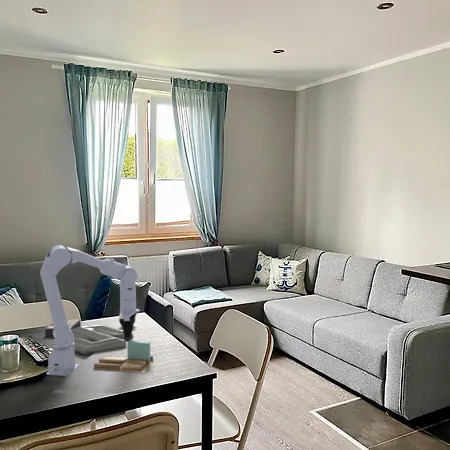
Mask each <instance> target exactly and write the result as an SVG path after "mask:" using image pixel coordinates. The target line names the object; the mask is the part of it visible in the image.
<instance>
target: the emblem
mask: <svg viewBox="0 0 450 450" xmlns="http://www.w3.org/2000/svg"><path fill="white" fill-rule="evenodd" d="M71 331H72V333H73V334H74V337H75V339H74V346H75V353H77V354H81V355H82V356H83V355H84V356H92V355H94V354H95V353H100V352H105V351H112V350H116V349H118V350H119V349H123V348H126V347H127V342H128V341H129V340H133V339H134V334H133V333H132V334H131V338H125V336H124V332H123V329H118V328H115V327H111V326H107V325H102V324H99V325H84V326H80V327H77V328H75V329H71Z"/></svg>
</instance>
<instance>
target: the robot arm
mask: <svg viewBox="0 0 450 450" xmlns="http://www.w3.org/2000/svg"><path fill="white" fill-rule="evenodd" d="M69 263H70V264H76V263H82V264H86V265H89V266H91V267H94V268H97V269H99V271H100V273H101V274H102V275H106V276H108V277H110V278H112V279H116V280H119V284H120V285H119V296H120V297H119V301H120V302H119V303H120V304H119V305H120V306H119V307H120V309H119V314H122V316H123V318H124V319H120V320H119V319H118V322H119V324H120V326H121V328H122V330H123V332H124V336H125V338H131V334H133V328H134V324H135V323H136V320H135V316H136V317H137V313H139V312H140V309H139V308H137V290H136V289H137V287H136V282H137V280H138V277H139V276H138V273H137V271H136V270H135V269H134V268H133V267H131V266H129V265H127V264H126V263H120V262H118V261H115V258H112V257H110V258H105V259H100V258H98V257H95V256H93V255H91V254H88V253H86V252H84V251H82V250H79V249H76V248H73V247H68V246H67V247H65V246H64V245H61V244H56V245H53V246H51V248H50V249H49V250H48V252H47V253H46V254H45V259H44V260H43V263H42V266H41V269H40V271H39V273H40V279H41V282H42V286H43V289H44V292H45V297H46V301H47V304H48V305H47V306H48V308H49V312H50V317H51V320H52V323H53V325H54V329H53V336H54V337H53V338H54V342H53V343H52V349H51V352H50V353H49V355H48V357H47V361H48V362H47V364H48V365H47V366H48V371H47V372H46V375H47V376H61V377H67V376H69V375H70V374H71V373H72V372H73V371H75V369H77V368H78V367H79V366H80V364H79V363H76V352H75V346H74V339H75V337H74V334H73V333H72V331H71V328H70V326H69V325H68V322H67V320H68V319H67V316H66V312H65V308H64V305H63V304H64V303H63V299H62V297H61V292H60V289H59V284H58V281H57V275H58V274H59V272H60V271H61V269H63V268H64V267H66V266H67V265H68V264H69ZM134 322H135V323H134Z"/></svg>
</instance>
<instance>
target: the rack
mask: <svg viewBox="0 0 450 450" xmlns="http://www.w3.org/2000/svg"><path fill="white" fill-rule="evenodd" d="M126 360H135V361H146V366H145V367H144V368H143V369H142V370H141V371H132V370H122V365H123V364H124V362H125V361H126ZM154 361H155V359H154V355H150V360H139V359H128V357H122V356H121V357H120V356H119V357H118V356H110V355H109V356H107V355H106V356H105V357H104V358H103V357H102V358H99V359H98V362H94V363H93V367H92V370H101V371H102V370H103V371H115V372H116V371H117V372H129V373H141V374H142V373H143V374H144V373H146V371H147V370H148V369H149V368H150V366H151V365H152V363H153V362H154Z"/></svg>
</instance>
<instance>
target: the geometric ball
mask: <svg viewBox="0 0 450 450" xmlns="http://www.w3.org/2000/svg"><path fill="white" fill-rule="evenodd" d="M120 319H124V318H123V316H122V314H121V313H119V315H118V321H119V320H120ZM136 319H137V315H136V316H135V322H134V324H135V323H136Z"/></svg>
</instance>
